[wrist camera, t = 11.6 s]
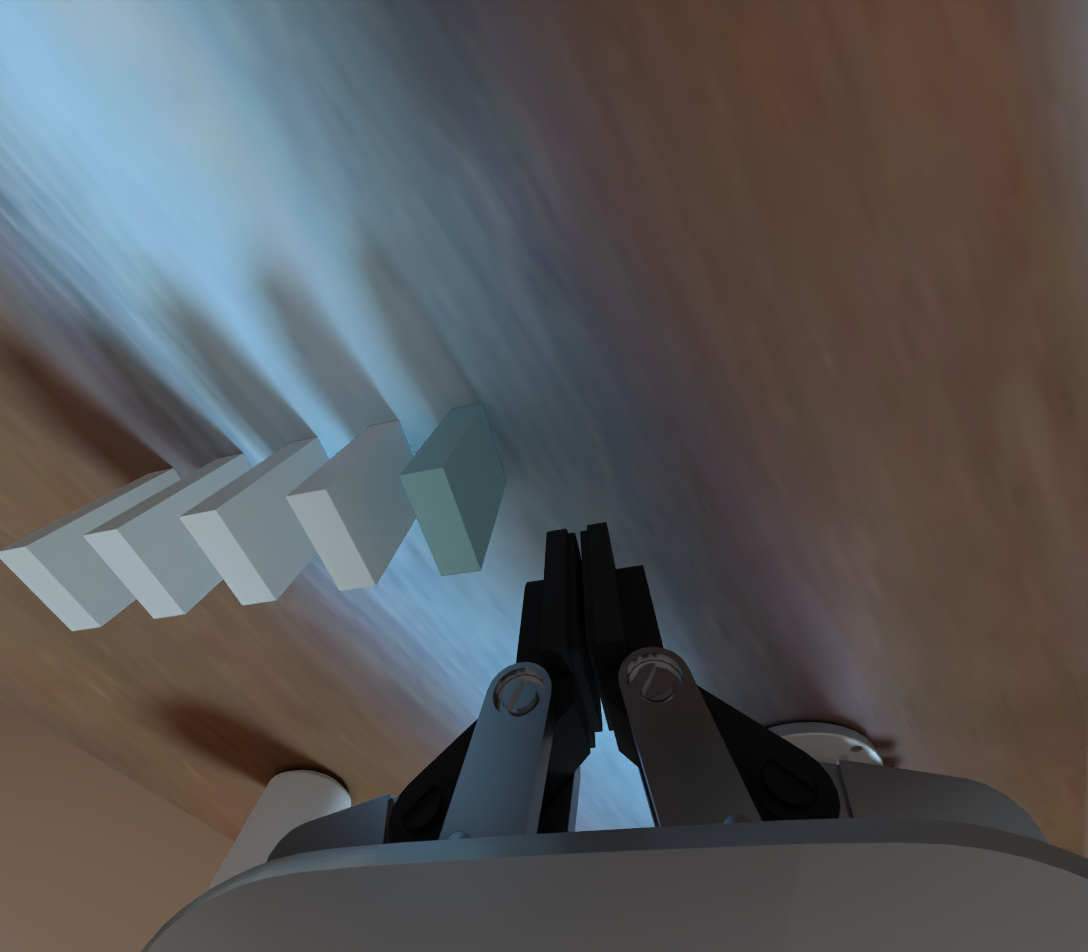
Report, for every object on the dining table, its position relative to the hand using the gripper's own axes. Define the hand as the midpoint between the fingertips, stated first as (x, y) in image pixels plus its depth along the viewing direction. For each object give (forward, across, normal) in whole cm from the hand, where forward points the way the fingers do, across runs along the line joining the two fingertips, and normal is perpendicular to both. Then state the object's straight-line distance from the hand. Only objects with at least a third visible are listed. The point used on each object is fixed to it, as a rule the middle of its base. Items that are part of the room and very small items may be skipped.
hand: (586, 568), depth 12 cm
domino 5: (+13, +6, +1) cm, 14 cm away
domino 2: (+13, +21, +1) cm, 24 cm away
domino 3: (+13, +16, +1) cm, 20 cm away
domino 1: (+13, +26, +1) cm, 29 cm away
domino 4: (+13, +11, +1) cm, 17 cm away
